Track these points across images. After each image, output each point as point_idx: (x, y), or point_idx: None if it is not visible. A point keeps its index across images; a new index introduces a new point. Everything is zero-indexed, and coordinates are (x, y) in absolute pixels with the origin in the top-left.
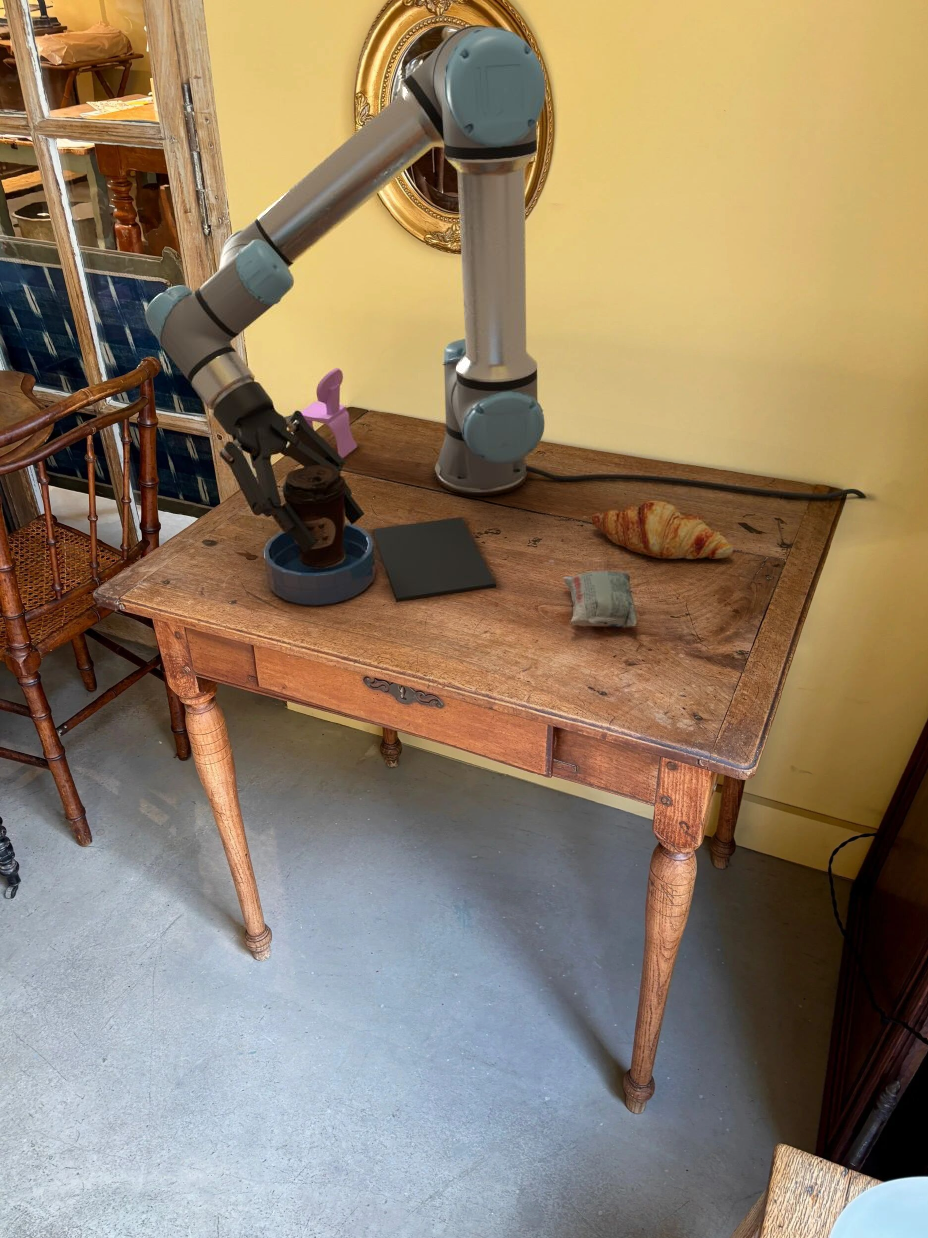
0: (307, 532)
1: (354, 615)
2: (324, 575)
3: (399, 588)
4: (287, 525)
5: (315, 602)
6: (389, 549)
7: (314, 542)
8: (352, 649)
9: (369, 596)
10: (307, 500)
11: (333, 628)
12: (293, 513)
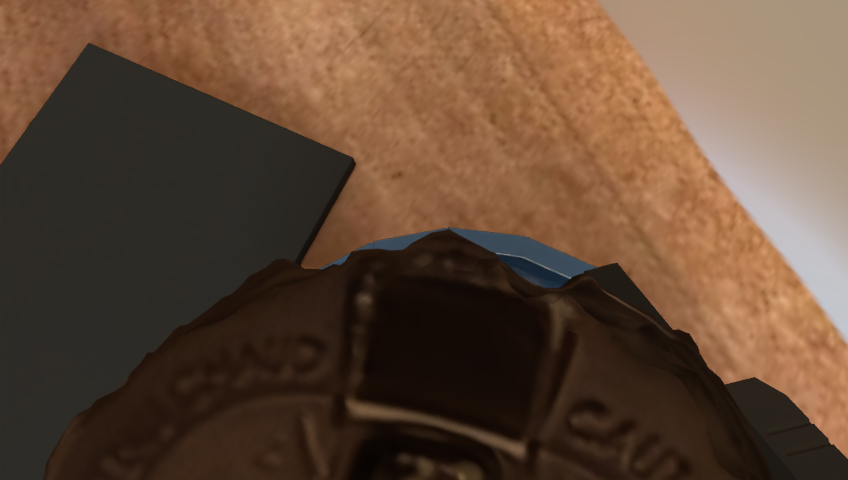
0: None
1: (505, 185)
2: (566, 254)
3: (308, 196)
4: (783, 398)
5: None
6: None
7: (603, 271)
8: (607, 49)
9: None
10: (648, 319)
11: (599, 167)
12: None
